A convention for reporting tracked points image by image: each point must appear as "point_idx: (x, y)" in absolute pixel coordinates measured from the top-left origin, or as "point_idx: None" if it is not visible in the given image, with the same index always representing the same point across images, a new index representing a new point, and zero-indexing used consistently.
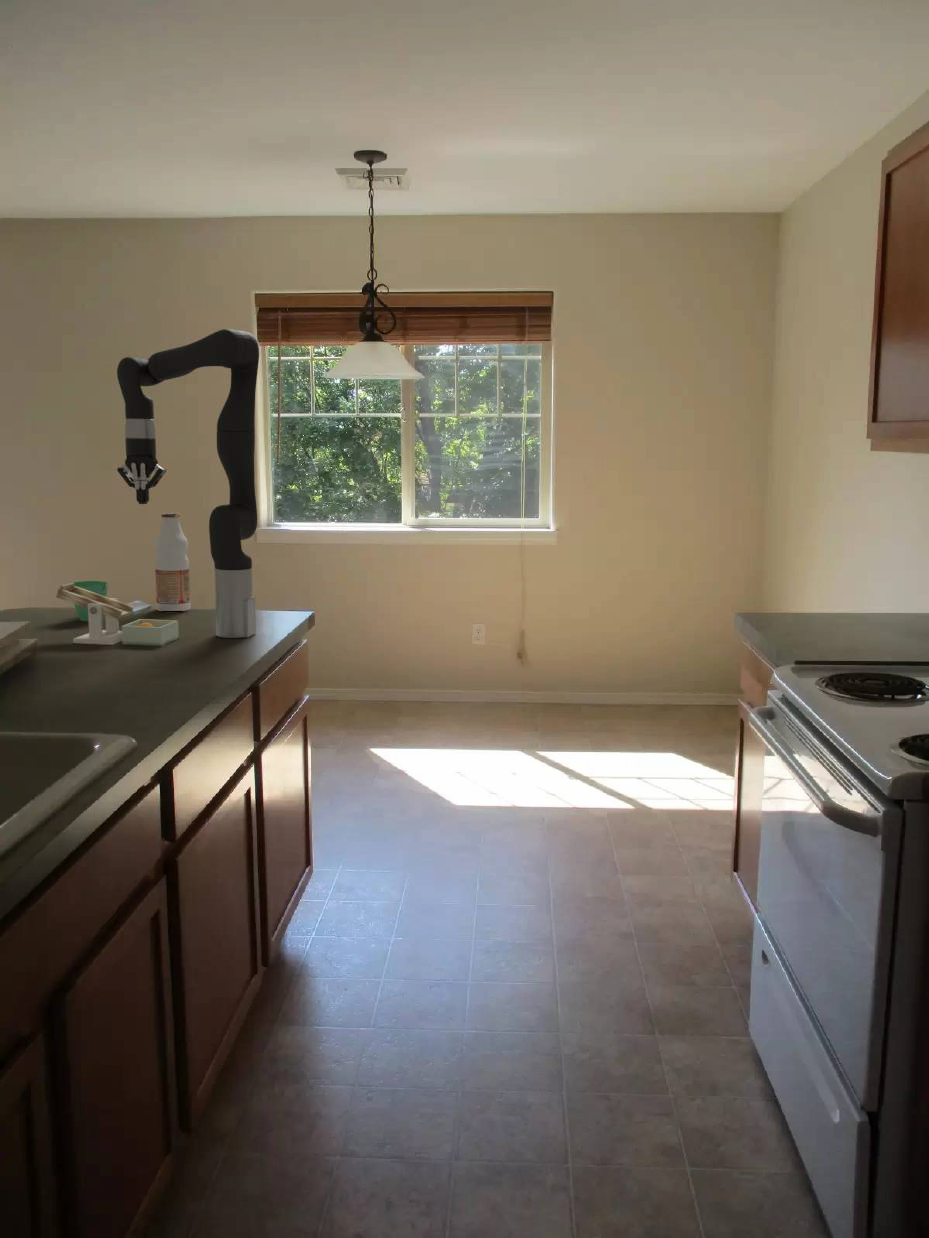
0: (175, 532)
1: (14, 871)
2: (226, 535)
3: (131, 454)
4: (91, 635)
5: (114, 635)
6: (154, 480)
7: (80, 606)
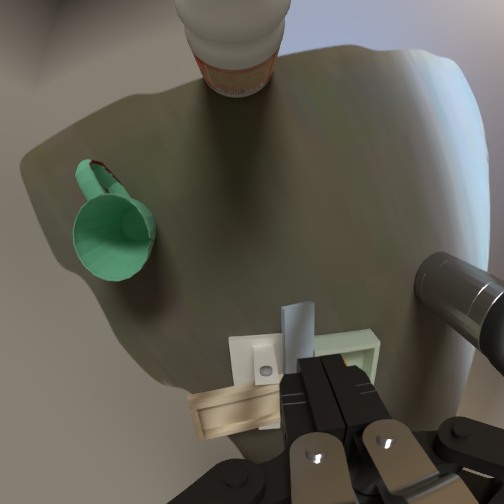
0: None
1: None
2: None
3: None
4: None
5: (281, 368)
6: (481, 495)
7: (127, 259)
